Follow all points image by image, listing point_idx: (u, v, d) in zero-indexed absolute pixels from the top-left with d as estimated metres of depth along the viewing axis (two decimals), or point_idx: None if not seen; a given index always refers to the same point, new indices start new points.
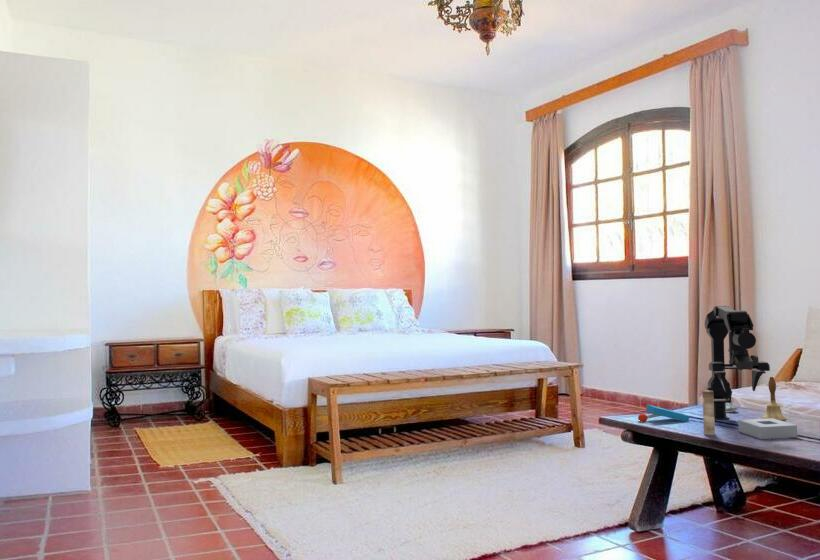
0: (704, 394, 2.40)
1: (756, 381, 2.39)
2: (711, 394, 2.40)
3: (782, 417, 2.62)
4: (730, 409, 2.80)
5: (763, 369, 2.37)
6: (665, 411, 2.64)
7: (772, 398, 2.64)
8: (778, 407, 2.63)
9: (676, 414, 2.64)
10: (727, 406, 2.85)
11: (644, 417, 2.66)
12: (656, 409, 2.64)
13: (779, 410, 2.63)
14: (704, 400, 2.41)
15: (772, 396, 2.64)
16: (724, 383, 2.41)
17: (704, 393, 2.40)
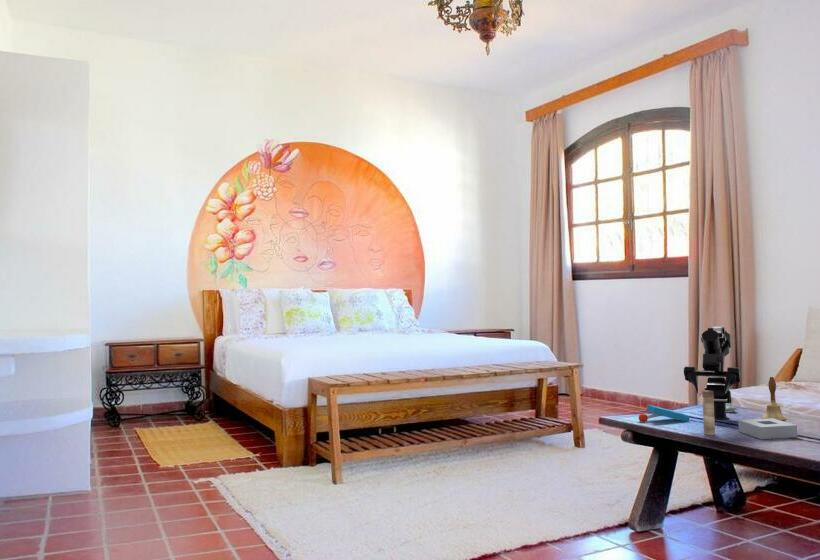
0: (704, 394, 2.40)
1: (726, 383, 2.47)
2: (711, 394, 2.40)
3: (782, 417, 2.62)
4: (729, 409, 2.80)
5: (732, 370, 2.47)
6: (666, 411, 2.64)
7: (772, 398, 2.64)
8: (778, 407, 2.63)
9: (676, 414, 2.64)
10: (726, 406, 2.85)
11: (645, 417, 2.65)
12: (657, 409, 2.64)
13: (779, 410, 2.63)
14: (704, 400, 2.41)
15: (772, 396, 2.64)
16: (695, 384, 2.51)
17: (704, 393, 2.40)
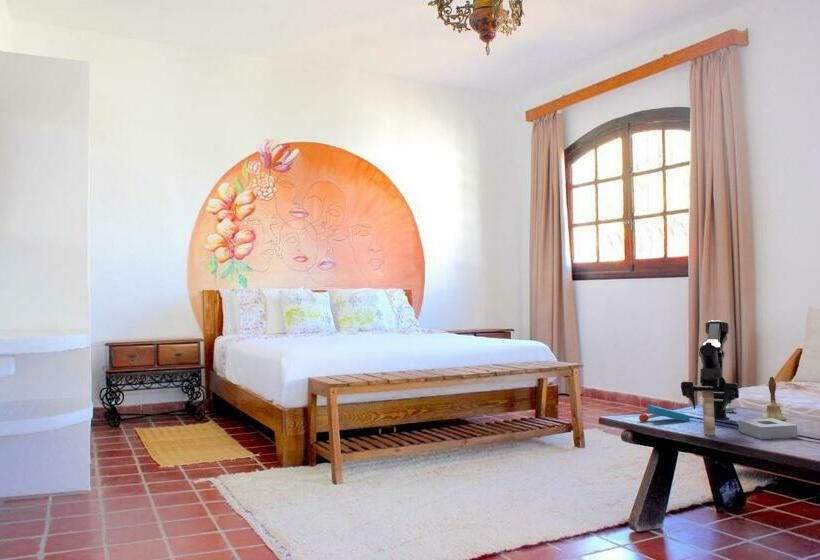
0: (704, 394, 2.40)
1: (725, 399, 2.40)
2: (711, 394, 2.40)
3: (782, 417, 2.62)
4: (729, 409, 2.80)
5: (730, 386, 2.41)
6: (666, 411, 2.64)
7: (772, 398, 2.64)
8: (778, 407, 2.63)
9: (677, 414, 2.64)
10: (726, 406, 2.85)
11: (645, 417, 2.65)
12: (657, 409, 2.64)
13: (779, 410, 2.63)
14: (704, 400, 2.41)
15: (772, 396, 2.64)
16: (692, 399, 2.45)
17: (704, 393, 2.40)
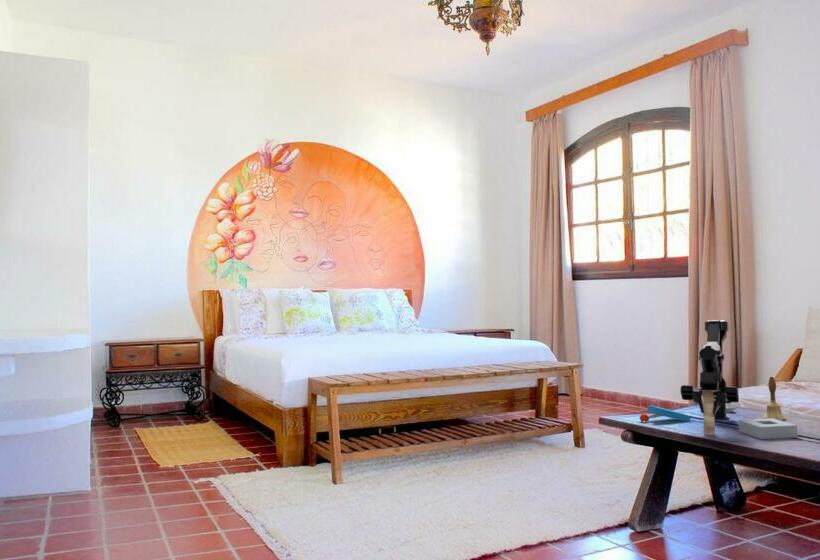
0: (704, 394, 2.40)
1: (716, 403, 2.40)
2: (711, 394, 2.40)
3: (782, 417, 2.62)
4: (728, 409, 2.80)
5: (730, 390, 2.40)
6: (667, 411, 2.64)
7: (772, 398, 2.64)
8: (778, 407, 2.63)
9: (678, 414, 2.64)
10: None
11: (646, 417, 2.65)
12: (658, 409, 2.64)
13: (779, 410, 2.63)
14: (704, 400, 2.41)
15: (772, 396, 2.64)
16: (700, 404, 2.42)
17: (704, 393, 2.40)
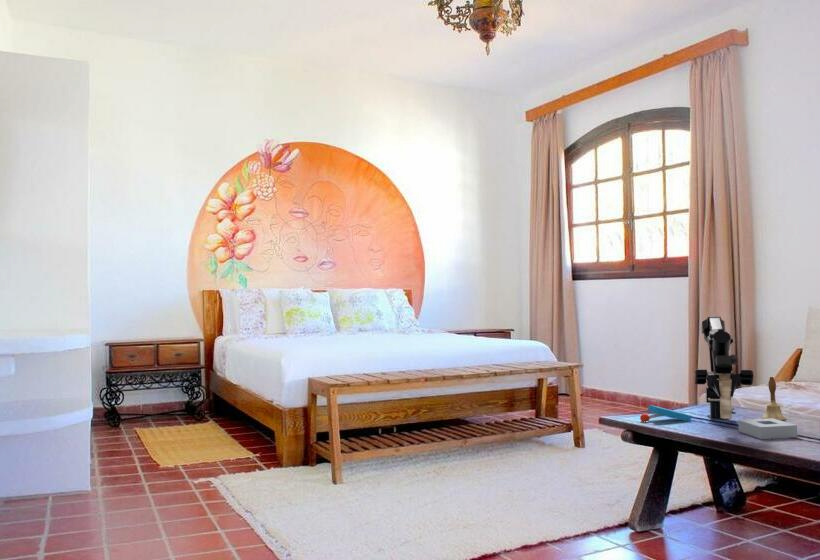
0: (722, 377, 2.38)
1: (733, 386, 2.39)
2: (728, 377, 2.38)
3: (782, 417, 2.62)
4: None
5: (746, 373, 2.39)
6: (667, 411, 2.64)
7: (772, 398, 2.64)
8: (778, 407, 2.63)
9: (678, 414, 2.64)
10: None
11: (646, 417, 2.65)
12: (658, 409, 2.64)
13: (779, 410, 2.63)
14: (722, 383, 2.38)
15: (772, 396, 2.64)
16: (717, 387, 2.40)
17: (722, 376, 2.38)
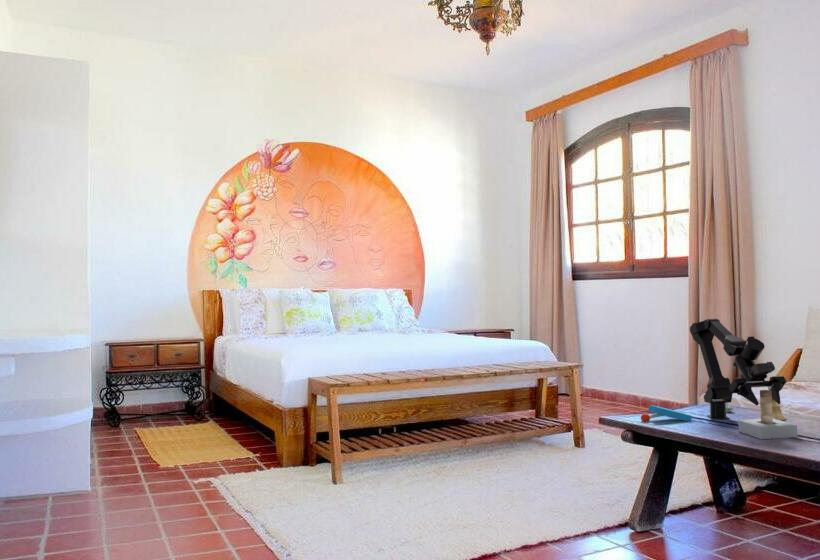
0: (765, 394, 2.37)
1: (778, 393, 2.39)
2: (771, 394, 2.37)
3: (782, 417, 2.62)
4: (726, 409, 2.80)
5: (780, 379, 2.41)
6: (668, 411, 2.64)
7: (772, 398, 2.64)
8: (778, 407, 2.63)
9: (679, 414, 2.64)
10: None
11: (647, 417, 2.65)
12: (659, 409, 2.64)
13: (779, 410, 2.63)
14: (765, 400, 2.37)
15: None
16: (753, 396, 2.38)
17: (765, 393, 2.37)
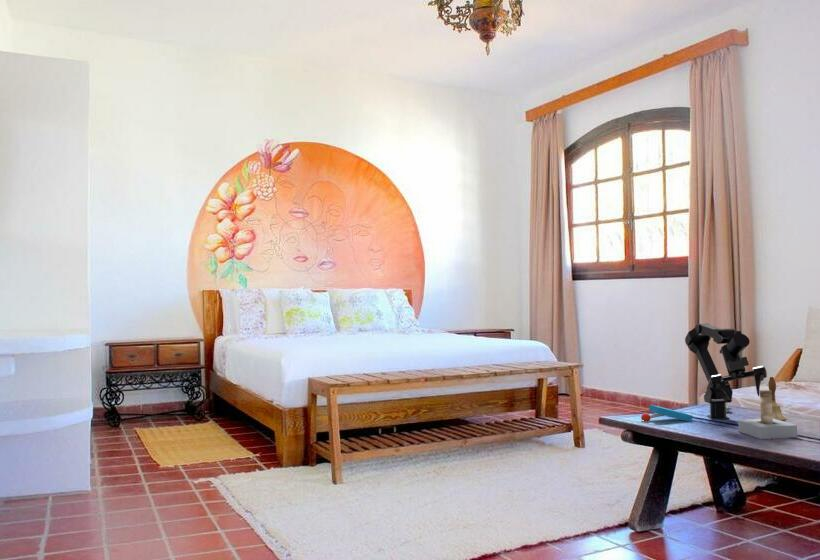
0: (765, 394, 2.37)
1: (757, 385, 2.47)
2: (771, 394, 2.37)
3: (782, 417, 2.62)
4: None
5: (759, 371, 2.47)
6: (668, 411, 2.64)
7: (772, 398, 2.64)
8: (778, 407, 2.63)
9: (679, 414, 2.64)
10: None
11: (647, 417, 2.66)
12: (659, 409, 2.64)
13: (779, 410, 2.63)
14: (765, 400, 2.37)
15: (772, 396, 2.64)
16: (727, 393, 2.50)
17: (765, 393, 2.37)
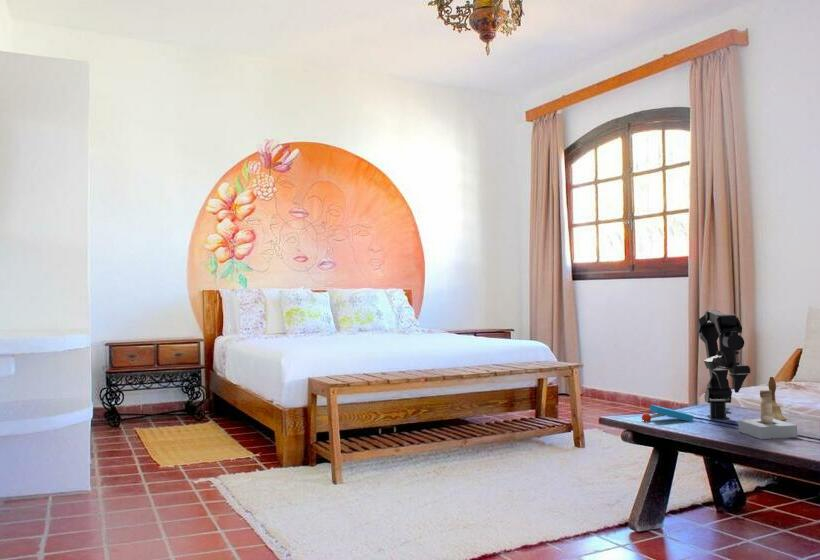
0: (765, 394, 2.37)
1: (734, 383, 2.48)
2: (771, 394, 2.37)
3: (782, 417, 2.62)
4: None
5: (731, 371, 2.46)
6: (669, 411, 2.64)
7: (772, 398, 2.64)
8: (778, 407, 2.63)
9: (680, 414, 2.64)
10: None
11: (648, 417, 2.66)
12: (660, 409, 2.64)
13: (779, 410, 2.63)
14: (765, 400, 2.37)
15: (772, 396, 2.64)
16: (718, 381, 2.58)
17: (765, 393, 2.37)
